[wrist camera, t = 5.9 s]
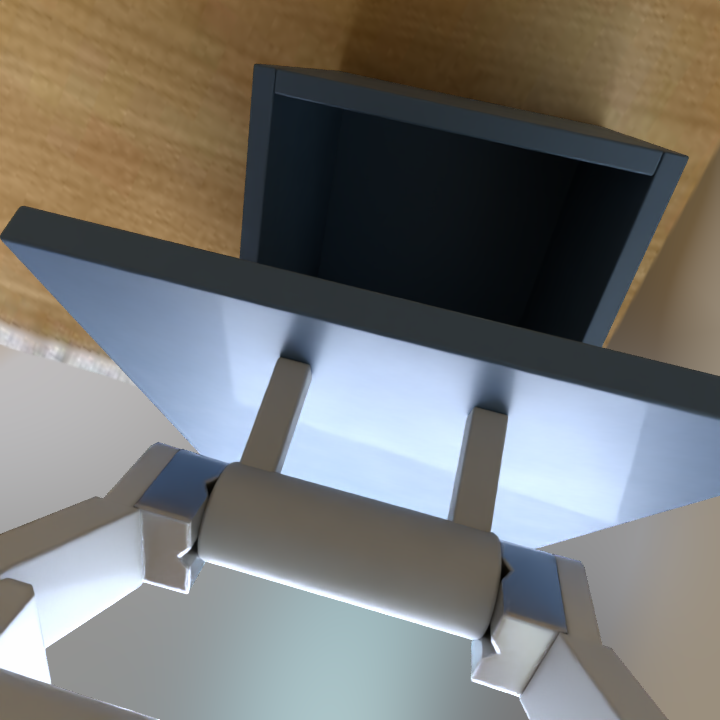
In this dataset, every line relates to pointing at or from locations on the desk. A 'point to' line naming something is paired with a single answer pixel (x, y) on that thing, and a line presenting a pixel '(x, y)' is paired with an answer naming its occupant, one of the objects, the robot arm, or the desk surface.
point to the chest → (450, 199)
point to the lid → (377, 420)
